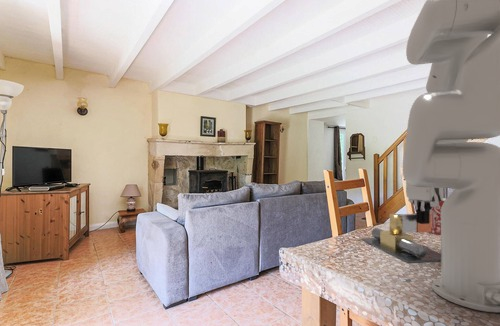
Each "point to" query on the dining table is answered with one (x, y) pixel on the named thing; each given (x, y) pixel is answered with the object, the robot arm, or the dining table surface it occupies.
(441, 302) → the dining table surface
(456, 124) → the robot arm
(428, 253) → the valve
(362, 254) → the dining table surface
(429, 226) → the lever
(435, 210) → the mug
